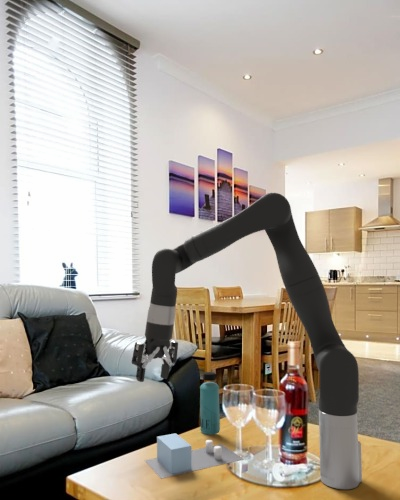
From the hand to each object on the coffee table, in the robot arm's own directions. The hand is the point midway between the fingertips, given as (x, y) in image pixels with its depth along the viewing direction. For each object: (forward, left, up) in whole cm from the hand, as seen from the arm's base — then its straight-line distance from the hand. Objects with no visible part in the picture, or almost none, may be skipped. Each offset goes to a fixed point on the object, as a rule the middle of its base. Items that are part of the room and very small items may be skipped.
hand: (152, 379), depth 120 cm
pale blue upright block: (-4, +5, -21) cm, 22 cm away
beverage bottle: (-24, -12, -23) cm, 35 cm away
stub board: (-10, +5, -23) cm, 26 cm away
